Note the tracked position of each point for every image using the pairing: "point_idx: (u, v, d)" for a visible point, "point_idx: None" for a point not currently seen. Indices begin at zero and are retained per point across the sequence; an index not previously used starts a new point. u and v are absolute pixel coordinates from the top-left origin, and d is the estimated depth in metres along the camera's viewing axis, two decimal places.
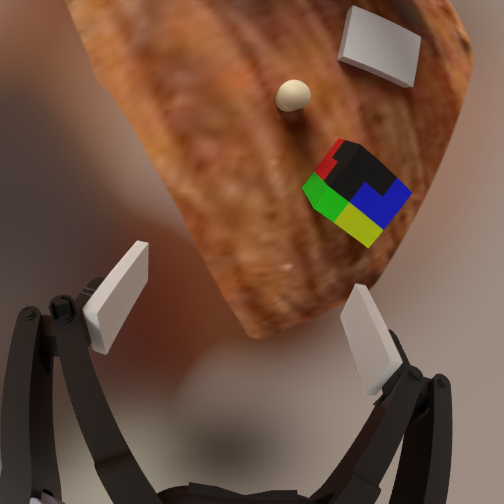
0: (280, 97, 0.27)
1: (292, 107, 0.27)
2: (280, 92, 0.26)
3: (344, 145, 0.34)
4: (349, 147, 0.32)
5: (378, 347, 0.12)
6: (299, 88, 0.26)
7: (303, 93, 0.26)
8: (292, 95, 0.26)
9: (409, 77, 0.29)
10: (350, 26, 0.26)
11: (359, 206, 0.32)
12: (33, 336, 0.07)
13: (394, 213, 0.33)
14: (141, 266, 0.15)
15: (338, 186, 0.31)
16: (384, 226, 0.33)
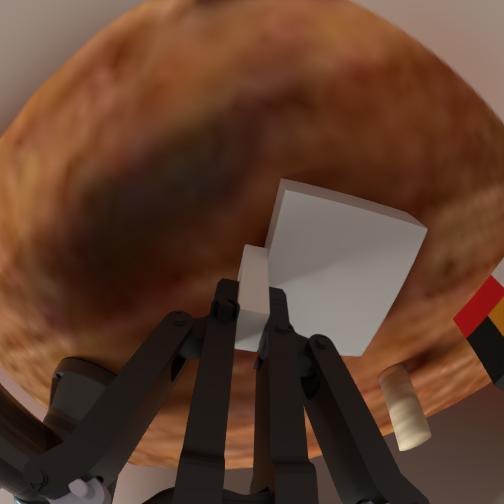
0: (412, 447, 0.19)
1: (426, 439, 0.18)
2: (407, 449, 0.19)
3: None
4: None
5: None
6: (411, 443, 0.18)
7: (418, 439, 0.17)
8: (416, 443, 0.18)
9: (409, 237, 0.15)
10: None
11: None
12: (175, 343, 0.10)
13: None
14: None
15: None
16: None
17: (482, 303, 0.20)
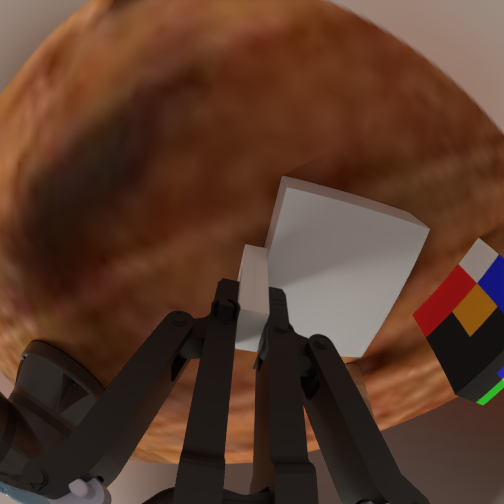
0: None
1: None
2: None
3: None
4: None
5: None
6: None
7: None
8: None
9: (411, 237, 0.15)
10: None
11: None
12: (176, 343, 0.10)
13: None
14: None
15: (481, 395, 0.15)
16: None
17: (446, 297, 0.19)
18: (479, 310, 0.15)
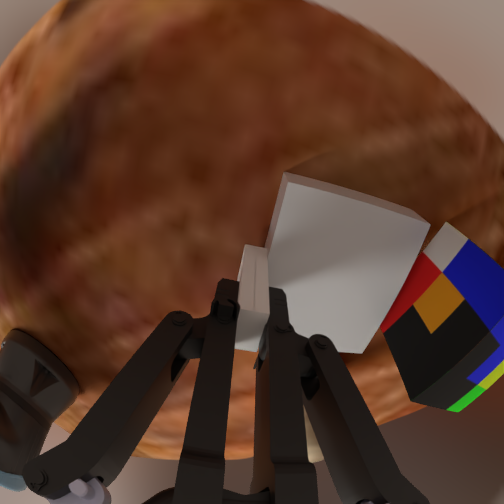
0: (312, 461, 0.18)
1: None
2: None
3: None
4: None
5: None
6: None
7: (309, 453, 0.16)
8: (312, 457, 0.17)
9: (412, 233, 0.15)
10: None
11: (490, 371, 0.13)
12: (175, 343, 0.10)
13: None
14: None
15: (452, 402, 0.14)
16: None
17: (407, 288, 0.19)
18: (443, 303, 0.15)
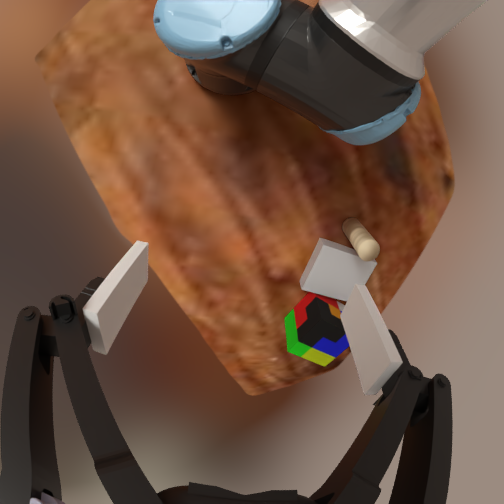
0: (369, 260, 0.40)
1: (378, 252, 0.39)
2: (366, 260, 0.40)
3: (314, 304, 0.51)
4: (316, 311, 0.49)
5: (378, 347, 0.12)
6: (365, 248, 0.39)
7: (369, 245, 0.39)
8: (370, 252, 0.39)
9: None
10: (314, 265, 0.49)
11: (318, 348, 0.49)
12: (33, 336, 0.07)
13: (344, 349, 0.50)
14: (141, 266, 0.15)
15: (304, 341, 0.48)
16: (336, 356, 0.51)
17: (328, 299, 0.54)
18: (337, 314, 0.51)
